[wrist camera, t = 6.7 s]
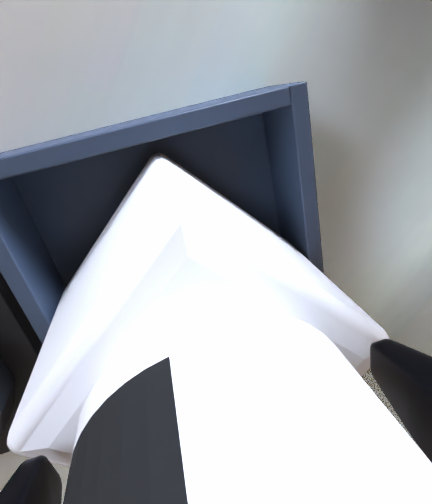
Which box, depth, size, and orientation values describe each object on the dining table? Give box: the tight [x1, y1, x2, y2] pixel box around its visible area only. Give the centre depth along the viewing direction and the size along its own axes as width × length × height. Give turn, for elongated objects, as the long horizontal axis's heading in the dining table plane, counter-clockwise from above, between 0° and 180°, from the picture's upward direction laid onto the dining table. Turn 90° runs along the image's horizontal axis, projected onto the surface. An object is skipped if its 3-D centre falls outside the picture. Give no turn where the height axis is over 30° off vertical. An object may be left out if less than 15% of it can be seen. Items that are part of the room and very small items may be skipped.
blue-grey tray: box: [0, 82, 324, 345], centre depth 14 cm, size 11×12×3 cm
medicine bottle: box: [7, 153, 432, 504], centre depth 9 cm, size 7×7×12 cm
